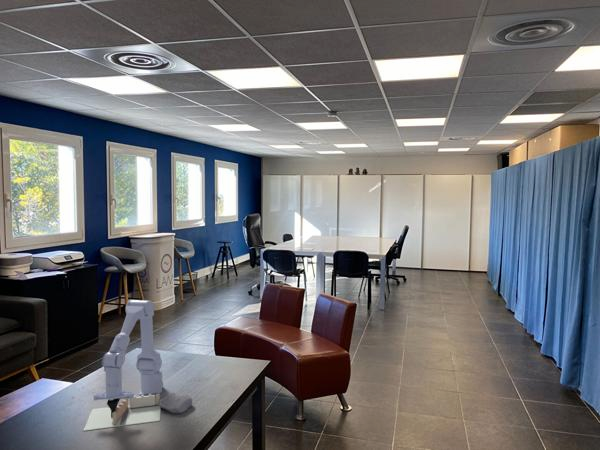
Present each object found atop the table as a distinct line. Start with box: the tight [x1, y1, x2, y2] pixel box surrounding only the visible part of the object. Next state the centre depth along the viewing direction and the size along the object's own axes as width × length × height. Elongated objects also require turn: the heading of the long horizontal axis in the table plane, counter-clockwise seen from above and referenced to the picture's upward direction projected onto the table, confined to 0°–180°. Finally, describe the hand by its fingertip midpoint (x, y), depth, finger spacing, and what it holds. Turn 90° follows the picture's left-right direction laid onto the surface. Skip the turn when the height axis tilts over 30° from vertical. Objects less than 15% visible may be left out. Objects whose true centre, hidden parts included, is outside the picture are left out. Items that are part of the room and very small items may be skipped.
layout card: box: [83, 401, 162, 432], centre depth 170 cm, size 27×17×1 cm, turn 106°
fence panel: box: [112, 399, 127, 425], centre depth 167 cm, size 12×1×5 cm, turn 2°
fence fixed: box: [124, 393, 161, 409], centre depth 176 cm, size 14×1×5 cm, turn 106°
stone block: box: [159, 392, 193, 414], centre depth 176 cm, size 12×5×10 cm
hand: (114, 417), depth 166 cm, fingers closed
